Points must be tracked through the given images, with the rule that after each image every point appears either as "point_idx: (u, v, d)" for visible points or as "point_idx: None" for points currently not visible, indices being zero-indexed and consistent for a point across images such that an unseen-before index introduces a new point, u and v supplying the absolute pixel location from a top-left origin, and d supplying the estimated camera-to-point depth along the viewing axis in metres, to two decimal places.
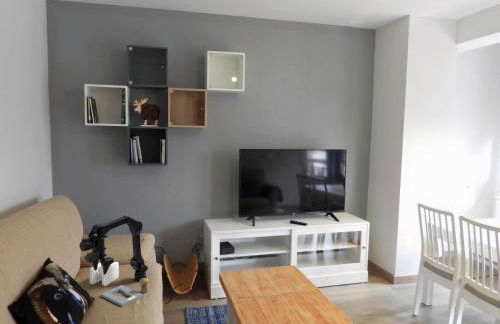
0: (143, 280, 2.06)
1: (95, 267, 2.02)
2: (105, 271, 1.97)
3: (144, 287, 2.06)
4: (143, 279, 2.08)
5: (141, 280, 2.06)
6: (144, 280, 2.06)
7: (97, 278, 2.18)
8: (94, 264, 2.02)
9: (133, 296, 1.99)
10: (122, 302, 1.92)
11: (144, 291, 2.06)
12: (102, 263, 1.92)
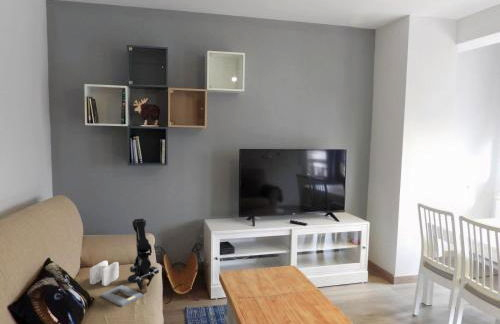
0: (143, 280, 2.06)
1: None
2: (139, 287, 2.04)
3: (144, 287, 2.06)
4: (143, 279, 2.08)
5: None
6: (144, 280, 2.06)
7: (97, 278, 2.18)
8: None
9: (133, 296, 1.99)
10: (122, 302, 1.92)
11: (144, 291, 2.06)
12: None
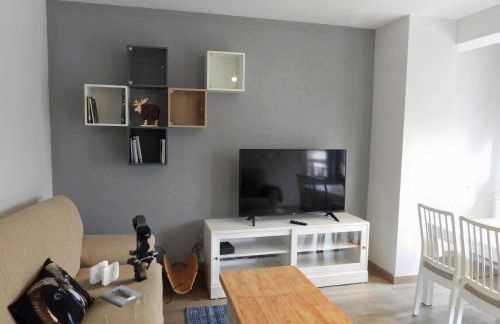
0: (143, 263, 2.05)
1: (146, 267, 2.08)
2: (138, 270, 2.03)
3: (143, 270, 2.05)
4: (142, 262, 2.06)
5: None
6: (143, 263, 2.05)
7: (97, 278, 2.18)
8: None
9: (133, 296, 1.99)
10: (122, 302, 1.92)
11: (143, 274, 2.05)
12: None
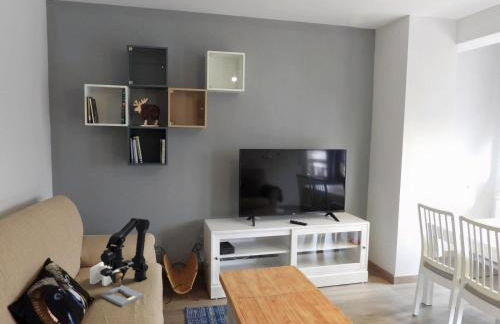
0: (117, 273, 2.02)
1: (121, 277, 2.05)
2: (112, 280, 2.01)
3: (118, 281, 2.02)
4: (117, 273, 2.04)
5: None
6: (117, 274, 2.02)
7: (97, 278, 2.18)
8: None
9: (133, 296, 1.99)
10: (122, 302, 1.92)
11: (118, 285, 2.02)
12: None
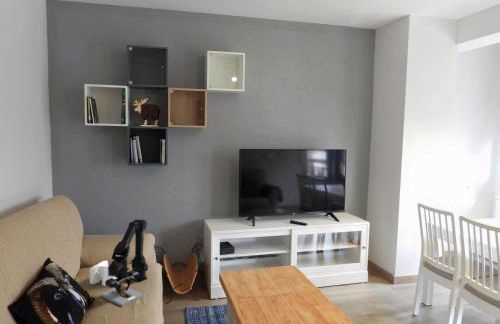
0: (122, 284, 2.00)
1: None
2: (117, 291, 1.98)
3: (122, 291, 2.00)
4: (122, 283, 2.01)
5: None
6: (122, 284, 2.00)
7: (97, 278, 2.18)
8: None
9: (133, 296, 1.99)
10: (122, 302, 1.92)
11: (122, 295, 2.00)
12: None
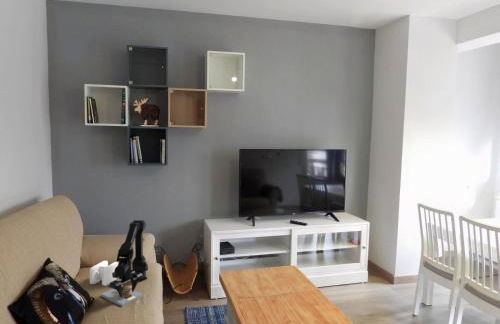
0: (126, 286, 1.98)
1: (132, 288, 2.02)
2: (119, 294, 1.95)
3: (127, 294, 1.98)
4: (126, 285, 1.99)
5: (124, 286, 1.98)
6: (126, 286, 1.98)
7: (97, 278, 2.18)
8: (132, 285, 2.02)
9: (133, 296, 1.99)
10: (122, 302, 1.92)
11: (127, 298, 1.98)
12: None
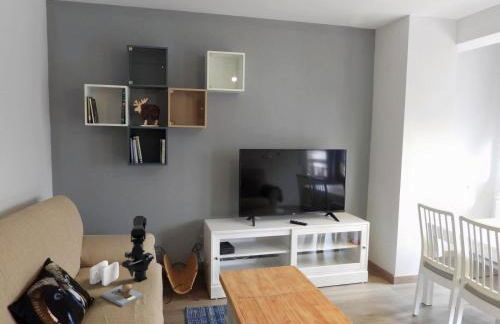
0: (126, 286, 1.98)
1: (144, 268, 2.09)
2: (130, 273, 2.01)
3: (127, 294, 1.98)
4: (126, 285, 1.99)
5: (124, 286, 1.98)
6: (126, 286, 1.98)
7: (97, 278, 2.18)
8: (145, 265, 2.10)
9: (133, 296, 1.99)
10: (122, 302, 1.92)
11: (127, 298, 1.98)
12: None
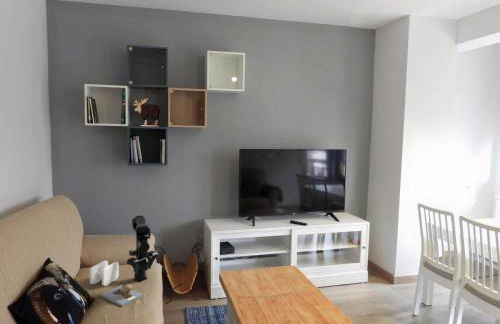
0: (126, 286, 1.98)
1: (148, 266, 2.12)
2: (135, 271, 2.04)
3: (127, 294, 1.98)
4: (126, 285, 1.99)
5: (124, 286, 1.98)
6: (126, 286, 1.98)
7: (97, 278, 2.18)
8: (149, 263, 2.12)
9: (133, 296, 1.99)
10: (122, 302, 1.92)
11: (127, 298, 1.98)
12: None
